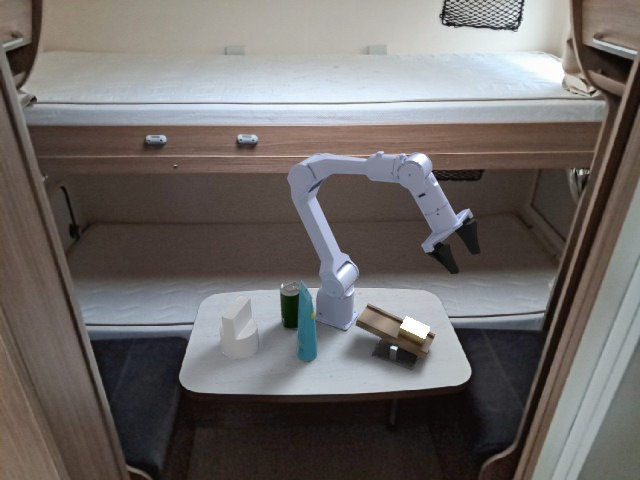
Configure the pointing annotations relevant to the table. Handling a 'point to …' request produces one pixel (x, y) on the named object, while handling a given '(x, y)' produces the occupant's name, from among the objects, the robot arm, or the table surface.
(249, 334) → the base with upright slab
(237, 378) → the table surface
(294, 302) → the beer can
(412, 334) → the rider
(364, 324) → the beam
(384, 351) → the beam stand
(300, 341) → the tube
